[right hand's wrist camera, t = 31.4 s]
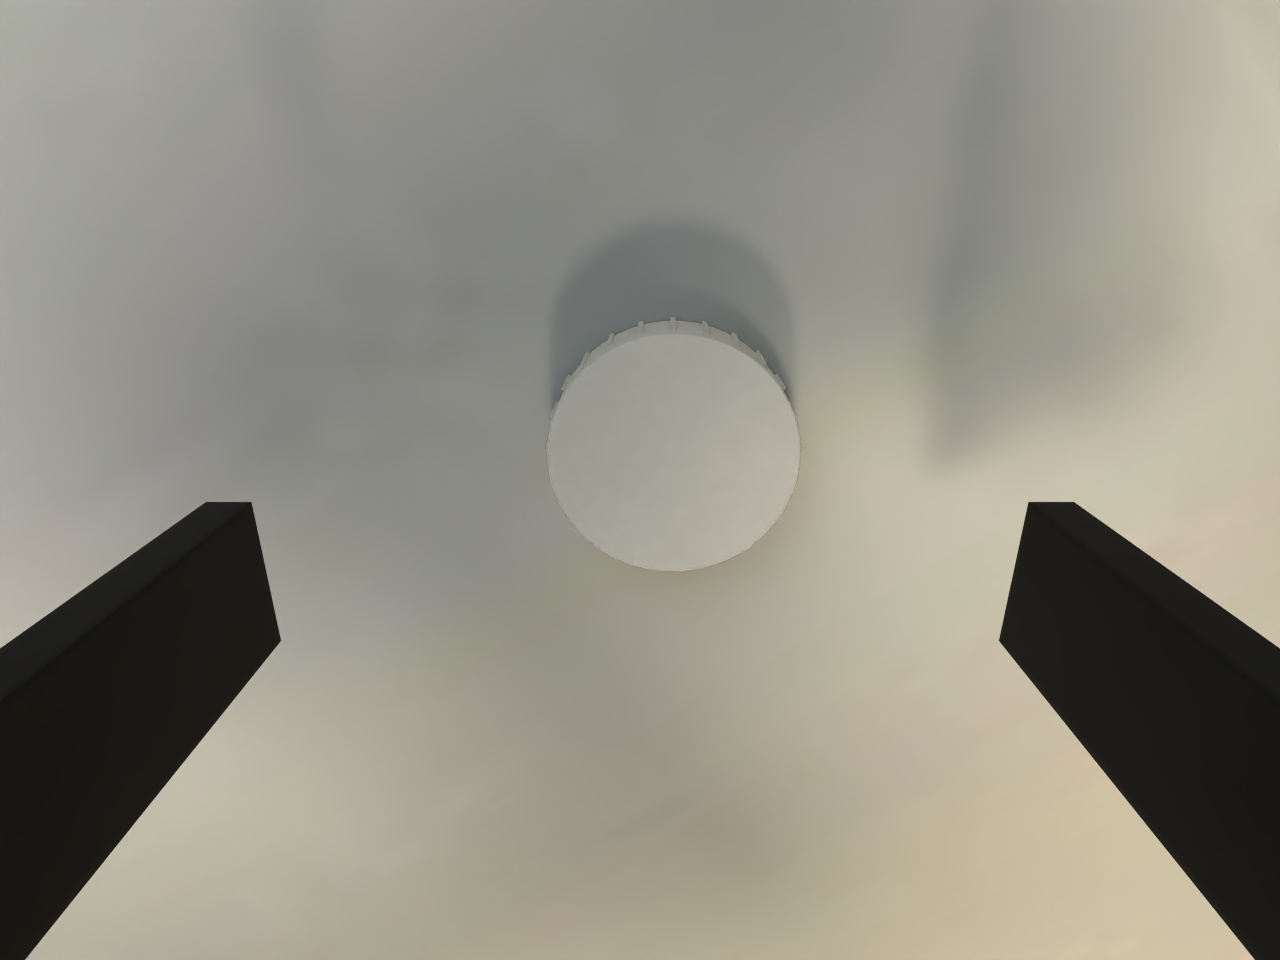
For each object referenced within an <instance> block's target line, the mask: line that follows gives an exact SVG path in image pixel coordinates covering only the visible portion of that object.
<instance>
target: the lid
mask: <svg viewBox="0 0 1280 960" xmlns="http://www.w3.org/2000/svg"><path fill="white" fill-rule="evenodd" d="M766 364H767V362H766V361H765V359H764V357H763V356H762V354H761V352H760V351H758V350H757V351H756V352H754V351H753V350H752V349H751V348H750V347H748V346H747V345H746V344H744V343H743V342H742V341H740V340H739V339H738V337H737V335H736V333H734V332H732V333H731V334H728V333H726V332H724V331H721V330H719V329H716V328H714V327H711V326H708V324H707V321H702V324H700V323H695V322H687V321H675V317H670V321H660V322H653V323H647V324H644V322H643V321H641V322H639V324H638V326H636V327H633V328H630V329H628V330H626V331H623V332H621V333H619V334H617V335H615V334H614V333H611V334H610V335H609V338H608V340H607V341H605V342H603V343H602V344H601V345H600V346H598V347H597V348H596V349H595V350H593V351H592V352H591V353H590V352H589V351H587V352H586V353H585V355H584V357H583V359H582V362H581V363H580V365H579V366H578V368H577V369H576V370H575V372H574V373H573V374H572V376H571V375H569V374H568V376H567V378H566V380H565V382H564V384H563V386H562V388H561V390H562V391H563V393H562V396H561V398H560V400H559V402H557V401H556V403H555V405H554V408H553V410H552V412H551V414H550V417H549V419H552V421H551V424H550V429H549V434H548V440H547V443H546V449H547V466H548V473H549V477H550V482H551V486H552V488H553V491H554V494H555V497H556V499H557V501H558V503H559V505H560V507H561V509H562V511H563V512H564V514H565V515H566V517H567V518H568V519H569V521H570V522H571V524H572V525H573V526H574V527H575V528H576V529H577V530H578V532H579V533H580V534H581V535H582V536H583V537H584V538H586V539H587V540H588V541H589V542H590V543H591V544H593V545H594V546H595V547H597V548H598V549H600V550H601V551H603V552H604V553H606V554H608V555H610V556H612V557H614V558H616V559H618V560H620V561H622V562H625V563H628V564H631V565H633V566H637V567H641V568H646V569H650V570H659V571H686V570H694V569H700V568H704V567H708V566H712V565H715V564H717V563H720V562H723V561H726V560H728V559H730V558H732V557H734V556H736V555H738V554H740V553H741V552H743V551H744V550H746V549H747V548H749V547H750V546H752V545H753V544H754V543H756V542H757V541H758V540H759V539H760V538H761V537H762V536H764V535H765V534H766V533H767V532H768V530H769V529H770V528H771V527H772V526H773V525H774V524H775V523H776V521H777V520H778V518H779V517H780V515H781V514H782V513H783V511H784V510H785V508H786V506H787V504H788V502H789V500H790V498H791V496H792V493H793V490H794V488H795V485H796V482H797V478H798V473H799V468H800V458H801V443H800V434H799V429H798V424H797V420H796V418H798V416H797V413H796V411H795V410H794V408H793V406H792V405H791V403H790V401H789V400H788V398H787V396H786V395H785V393H784V391H783V390H785V389H786V387H785V385H784V384H783V382H782V380H781V379H780V377H779V376H778V374H777V373H776V374H775V375H774V374H773V373H772V372H771V370H770V369H769V367H768V366H767V365H766Z"/></svg>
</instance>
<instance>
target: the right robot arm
mask: <svg viewBox="0 0 1280 960" xmlns="http://www.w3.org/2000/svg"><path fill="white" fill-rule="evenodd" d="M280 641H281V639H280V634H279V629H278V625H277V620H276V615H275V611H274V606H273V601H272V596H271V592H270V587H269V582H268V578H267V573H266V568H265V564H264V559H263V554H262V550H261V545H260V540H259V535H258V531H257V526H256V521H255V517H254V512H253V507H252V503H251V502H206V503H204V504H203V505H201V506H200V507H198V508H197V509H196V510H194V511H193V512H191V513H190V514H189V515H187V516H186V517H184V518H183V519H182V520H180V521H179V522H177V523H176V524H175V525H173V526H172V527H170V528H169V529H168V530H166V531H165V532H163V533H162V534H161V535H159V536H158V537H156V538H155V539H153V540H152V541H151V542H149V543H148V544H146V545H145V546H144V547H142V548H141V549H139V550H138V551H137V552H135V553H134V554H132V555H131V556H130V557H128V558H127V559H125V560H124V561H123V562H121V563H120V564H118V565H117V566H116V567H114V568H113V569H111V570H110V571H109V572H107V573H106V574H104V575H103V576H101V577H100V578H99V579H97V580H96V581H94V582H93V583H92V584H90V585H89V586H87V587H86V588H85V589H83V590H82V591H80V592H79V593H78V594H76V595H75V596H73V597H72V598H71V599H69V600H68V601H66V602H65V603H64V604H62V605H61V606H59V607H58V608H57V609H55V610H54V611H52V612H51V613H49V614H48V615H47V616H45V617H44V618H42V619H41V620H40V621H38V622H37V623H35V624H34V625H33V626H31V627H30V628H28V629H27V630H26V631H24V632H23V633H21V634H20V635H19V636H17V637H16V638H14V639H13V640H12V641H10V642H9V643H7V644H6V645H5V646H3V647H2V648H0V960H25V959H26V958H27V957H28V955H29V954H30V953H31V952H32V950H33V949H34V948H35V947H36V945H37V944H38V943H39V942H40V940H41V939H42V938H43V937H44V935H45V934H46V933H47V932H48V930H49V929H50V928H51V927H52V925H53V924H54V923H55V922H56V920H57V919H58V918H59V917H60V915H61V914H62V913H63V912H64V910H65V909H66V908H67V907H68V906H69V904H70V903H71V902H72V901H73V899H74V898H75V897H76V896H77V894H78V893H79V892H80V891H81V889H82V888H83V887H84V886H85V884H86V883H87V882H88V881H89V879H90V878H91V877H92V876H93V874H94V873H95V872H96V871H97V869H98V868H99V867H100V866H101V864H102V863H103V862H104V861H105V859H106V858H107V857H108V856H109V854H110V853H111V852H112V851H113V849H114V848H115V847H116V846H117V844H118V843H119V842H120V841H121V839H122V838H123V837H124V836H125V834H126V833H127V832H128V831H129V829H130V828H131V827H132V826H133V825H134V823H135V822H136V821H137V820H138V818H139V817H140V816H141V815H142V813H143V812H144V811H145V810H146V808H147V807H148V806H149V805H150V803H151V802H152V801H153V800H154V798H155V797H156V796H157V795H158V793H159V792H160V791H161V790H162V788H163V787H164V786H165V785H166V783H167V782H168V781H169V780H170V778H171V777H172V776H173V775H174V773H175V772H176V771H177V770H178V768H179V767H180V766H181V765H182V763H183V762H184V761H185V760H186V758H187V757H188V756H189V755H190V753H191V752H192V751H193V750H194V749H195V747H196V746H197V745H198V744H199V742H200V741H201V740H202V739H203V737H204V736H205V735H206V734H207V732H208V731H209V730H210V729H211V727H212V726H213V725H214V724H215V722H216V721H217V720H218V719H219V717H220V716H221V715H222V714H223V712H224V711H225V710H226V709H227V707H228V706H229V705H230V704H231V702H232V701H233V700H234V699H235V697H236V696H237V695H238V694H239V692H240V691H241V690H242V689H243V687H244V686H245V685H246V684H247V682H248V681H249V680H250V679H251V677H252V676H253V675H254V674H255V672H256V671H257V670H258V669H259V668H260V666H261V665H262V664H263V663H264V661H265V660H266V659H267V658H268V656H269V655H270V654H271V653H272V651H273V650H274V649H275V648H276V646H277V645H278V644H279V643H280ZM999 641H1000V643H1001V644H1002V645H1003V646H1004V648H1005V649H1006V650H1007V651H1008V653H1009V654H1010V655H1011V656H1012V658H1013V659H1014V660H1015V661H1016V663H1017V664H1018V665H1019V666H1020V668H1021V669H1022V670H1023V671H1024V672H1025V674H1026V675H1027V676H1028V677H1029V679H1030V680H1031V681H1032V682H1033V684H1034V685H1035V686H1036V687H1037V689H1038V690H1039V691H1040V692H1041V694H1042V695H1043V696H1044V697H1045V699H1046V700H1047V701H1048V702H1049V704H1050V705H1051V706H1052V707H1053V709H1054V710H1055V711H1056V712H1057V714H1058V715H1059V716H1060V717H1061V719H1062V720H1063V721H1064V722H1065V724H1066V725H1067V726H1068V727H1069V729H1070V730H1071V731H1072V732H1073V734H1074V735H1075V736H1076V737H1077V739H1078V740H1079V741H1080V742H1081V744H1082V745H1083V746H1084V747H1085V749H1086V750H1087V751H1088V752H1089V753H1090V755H1091V756H1092V757H1093V758H1094V760H1095V761H1096V762H1097V763H1098V765H1099V766H1100V767H1101V768H1102V770H1103V771H1104V772H1105V773H1106V775H1107V776H1108V777H1109V778H1110V780H1111V781H1112V782H1113V783H1114V785H1115V786H1116V787H1117V788H1118V790H1119V791H1120V792H1121V793H1122V795H1123V796H1124V797H1125V798H1126V800H1127V801H1128V802H1129V803H1130V805H1131V806H1132V807H1133V808H1134V810H1135V811H1136V812H1137V813H1138V815H1139V816H1140V817H1141V818H1142V820H1143V821H1144V822H1145V823H1146V825H1147V826H1148V827H1149V828H1150V830H1151V831H1152V832H1153V833H1154V834H1155V836H1156V837H1157V838H1158V839H1159V841H1160V842H1161V843H1162V844H1163V846H1164V847H1165V848H1166V849H1167V851H1168V852H1169V853H1170V854H1171V856H1172V857H1173V858H1174V859H1175V861H1176V862H1177V863H1178V864H1179V866H1180V867H1181V868H1182V869H1183V871H1184V872H1185V873H1186V874H1187V876H1188V877H1189V878H1190V879H1191V881H1192V882H1193V883H1194V884H1195V886H1196V887H1197V888H1198V889H1199V891H1200V892H1201V893H1202V894H1203V896H1204V897H1205V898H1206V899H1207V901H1208V902H1209V903H1210V904H1211V906H1212V907H1213V908H1214V909H1215V910H1216V912H1217V913H1218V914H1219V915H1220V917H1221V918H1222V919H1223V920H1224V922H1225V923H1226V924H1227V925H1228V927H1229V928H1230V929H1231V930H1232V932H1233V933H1234V934H1235V935H1236V937H1237V938H1238V939H1239V940H1240V942H1241V943H1242V944H1243V945H1244V947H1245V948H1246V949H1247V950H1248V952H1249V953H1250V954H1251V955H1252V957H1253V958H1254V959H1255V960H1280V648H1278V647H1277V646H1275V645H1274V644H1273V643H1271V642H1270V641H1268V640H1267V639H1266V638H1264V637H1263V636H1261V635H1260V634H1259V633H1257V632H1256V631H1254V630H1253V629H1252V628H1250V627H1249V626H1247V625H1246V624H1245V623H1243V622H1242V621H1240V620H1239V619H1238V618H1236V617H1235V616H1233V615H1232V614H1231V613H1229V612H1228V611H1226V610H1225V609H1223V608H1222V607H1221V606H1219V605H1218V604H1216V603H1215V602H1214V601H1212V600H1211V599H1209V598H1208V597H1207V596H1205V595H1204V594H1202V593H1201V592H1200V591H1198V590H1197V589H1195V588H1194V587H1193V586H1191V585H1190V584H1188V583H1187V582H1186V581H1184V580H1183V579H1181V578H1180V577H1179V576H1177V575H1176V574H1174V573H1173V572H1171V571H1170V570H1169V569H1167V568H1166V567H1164V566H1163V565H1162V564H1160V563H1159V562H1157V561H1156V560H1155V559H1153V558H1152V557H1150V556H1149V555H1148V554H1146V553H1145V552H1143V551H1142V550H1141V549H1139V548H1138V547H1136V546H1135V545H1134V544H1132V543H1131V542H1129V541H1128V540H1126V539H1125V538H1124V537H1122V536H1121V535H1119V534H1118V533H1117V532H1115V531H1114V530H1112V529H1111V528H1110V527H1108V526H1107V525H1105V524H1104V523H1103V522H1101V521H1100V520H1098V519H1097V518H1096V517H1094V516H1093V515H1091V514H1090V513H1089V512H1087V511H1086V510H1084V509H1083V508H1082V507H1080V506H1079V505H1077V504H1076V503H1074V502H1029V503H1028V507H1027V512H1026V517H1025V521H1024V526H1023V531H1022V535H1021V540H1020V545H1019V549H1018V554H1017V559H1016V564H1015V568H1014V573H1013V578H1012V582H1011V587H1010V592H1009V596H1008V601H1007V606H1006V610H1005V615H1004V620H1003V625H1002V629H1001V634H1000V639H999Z"/></svg>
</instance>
